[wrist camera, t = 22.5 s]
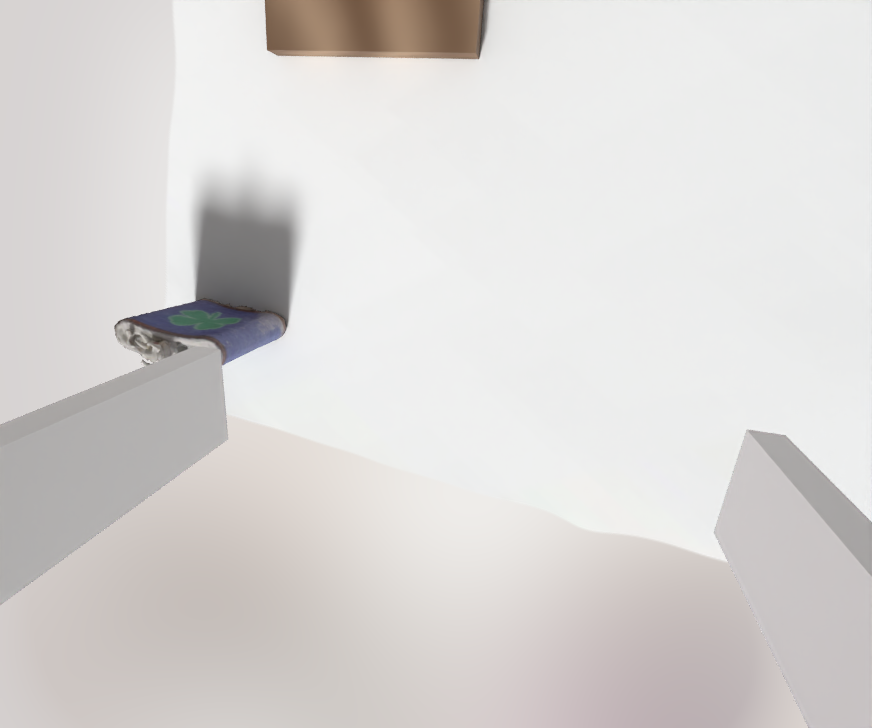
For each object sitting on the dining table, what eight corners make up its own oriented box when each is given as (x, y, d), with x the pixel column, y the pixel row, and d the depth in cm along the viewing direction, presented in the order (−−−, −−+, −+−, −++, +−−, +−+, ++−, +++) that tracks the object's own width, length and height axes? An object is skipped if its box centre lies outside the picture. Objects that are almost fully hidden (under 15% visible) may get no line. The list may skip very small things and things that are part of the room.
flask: (288, 313, 45) (204, 349, 34) (287, 345, 46) (205, 389, 35) (194, 294, 46) (86, 322, 36) (195, 325, 47) (91, 361, 37)
